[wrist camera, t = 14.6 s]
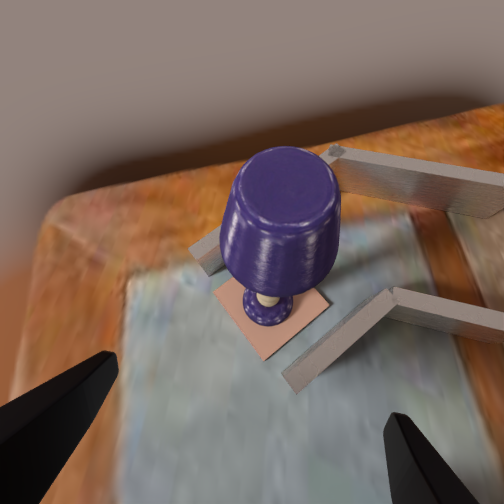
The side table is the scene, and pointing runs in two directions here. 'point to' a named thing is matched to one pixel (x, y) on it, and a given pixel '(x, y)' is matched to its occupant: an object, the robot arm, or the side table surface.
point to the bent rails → (394, 299)
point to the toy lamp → (280, 229)
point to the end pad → (269, 337)
